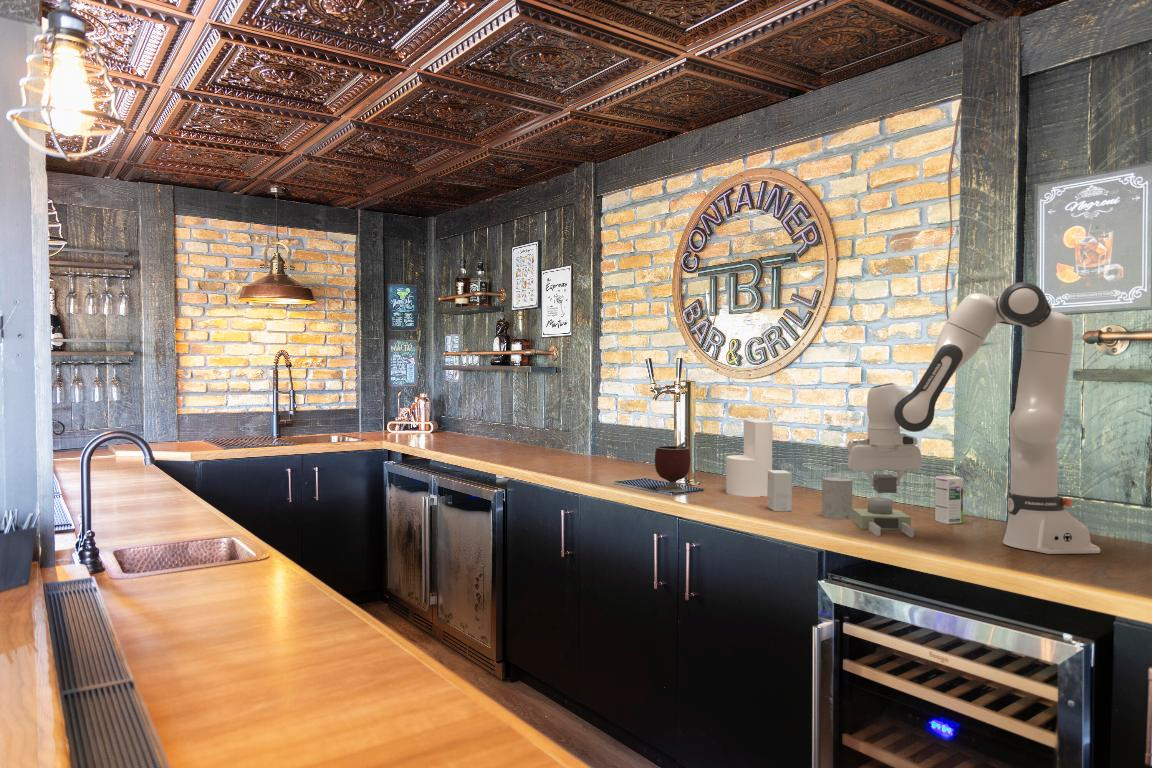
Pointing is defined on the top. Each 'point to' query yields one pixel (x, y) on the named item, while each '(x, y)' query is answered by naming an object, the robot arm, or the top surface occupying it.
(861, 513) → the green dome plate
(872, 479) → the robot arm
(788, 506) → the small box
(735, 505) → the top surface
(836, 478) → the grey concrete cylinder
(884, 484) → the dark grey box
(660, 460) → the mate gourd
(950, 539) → the top surface
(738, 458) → the pale stepped column block
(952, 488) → the syrup box
